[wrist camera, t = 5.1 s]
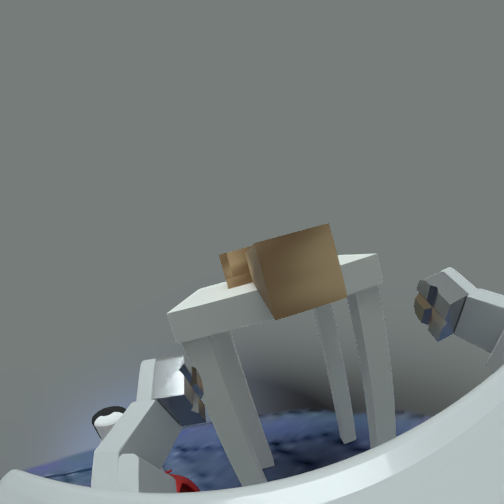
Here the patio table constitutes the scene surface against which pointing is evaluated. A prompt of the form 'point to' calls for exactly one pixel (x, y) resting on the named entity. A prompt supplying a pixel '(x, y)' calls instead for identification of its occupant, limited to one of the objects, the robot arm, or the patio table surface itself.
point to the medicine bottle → (107, 420)
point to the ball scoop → (289, 271)
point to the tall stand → (368, 345)
